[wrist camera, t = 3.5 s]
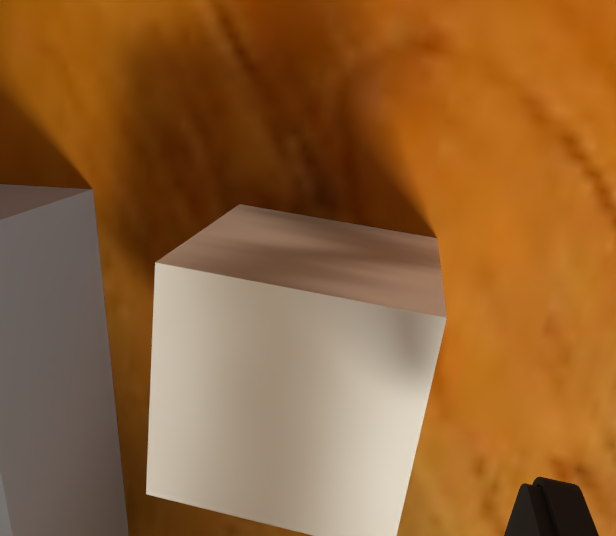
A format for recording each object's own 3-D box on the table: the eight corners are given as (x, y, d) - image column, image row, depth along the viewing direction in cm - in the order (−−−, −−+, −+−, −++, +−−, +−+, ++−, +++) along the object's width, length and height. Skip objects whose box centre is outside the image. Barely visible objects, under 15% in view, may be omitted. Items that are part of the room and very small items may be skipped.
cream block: (437, 237, 17) (446, 317, 11) (399, 411, 19) (391, 555, 13) (240, 203, 17) (155, 262, 12) (224, 374, 19) (145, 494, 14)
